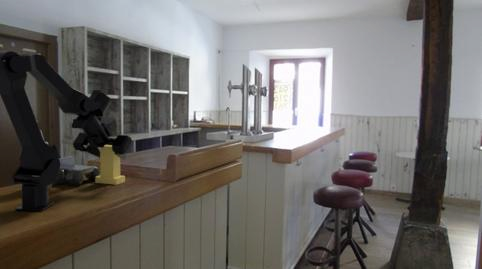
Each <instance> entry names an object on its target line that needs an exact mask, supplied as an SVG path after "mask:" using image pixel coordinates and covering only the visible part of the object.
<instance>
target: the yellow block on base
mask: <svg viewBox="0 0 482 269" xmlns="http://www.w3.org/2000/svg"><path fill="white" fill-rule="evenodd" d="M99 148H100V149H99V151H100V158H99V159H100V160H99V165H100V168H99V170H100V176H96V177H95V180H94V181H95V182H94V183H96V184H105V185H116V186H117V185H119V184H120V185H121V184H122V183H126V176H125V175H121V158H120V157H118V156H117V155H115V154H114V153H115V152H113V150H112V145H105V146H104V147H103V148H102V147H99Z"/></svg>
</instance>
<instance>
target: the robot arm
mask: <svg viewBox="0 0 482 269" xmlns="http://www.w3.org/2000/svg"><path fill="white" fill-rule="evenodd" d="M27 73H29V74H30V75H31V76H32V77H33V78H34V79H35V80H36V81H37V82H38V83H40V84H41V85H42V86H43V87H44V88H45V89H46V90H47V91H48V92H49V93H51V95H52V96H53V97H54V98H55V99H56V103H57V106H58V107H59V109H60V110H61V111H62V113H64V114H65V115H69V116H76V117H75V118H73V119H72V123H71V126H70V127H71V129H80V130H81V132H79V133H78V134H77V136H76V137H75V139H74V140H73V142H72V147H73V148H74V150H75V151H79V152H83V153H85V154H88V155H91V156H94V157H96V158H97V159H98V158H99V159H100V149H99V148H100V147H102V148H103V147H104V146H105V145H112V150H113V152H115V153H114V154H115V155H117V156H118V157H120V160H123V161H126V158H127V155H126V154H127V151H128V149H129V147H130V145H131V143H132V141H133V139H132V137H131V136H130V134H129V135H128V134H117V135H116V136H115V138H113V137H112V136H113V134H114V132H113V131H115V129H117V128H118V124H117V120H116V117H109V116H108V117H107V116H106V117H105V116H104V114H105V113H106V111H107V109H108V108H109V106H110V105H111V103H112V99H111V97H110V96H108V95H107V94H106V93H104V92H101V90H100V89H94V90H92V92H91V94H90V96H88V95H86V94H85V93H83V92H82V91H80V90H77V89H75V88H74V87H72V86H71V85H70V84H69V83H68V82H67V81H66V80H65V79H64V78H63V76H61V75H60V73H59V72H57V71H56V70H55V69H54V68H53V66H52V65H50V63H49V62H48V61H47V59H46V57H45V56H44V55H43V54H41V53H23V54H20V53H17V52H16V51H13V50H9V51H8V50H0V97H1V100H2V103H3V104H4V107H5V109H6V113H7V115H8V117H9V119H10V121H11V124H12V127H13V129H14V131H15V134H16V136H17V139H18V141H19V143H20V146H21V150H20V153H19V157H18V158H19V163H20V164H19V166H18V167H17V168H16V169H15V171H14V172H13V174H12V175H11V179H12V183H13V184H16V185H17V184H19V185H21V205H19V206H16V208H15V209H14V210H15V211H24V212H25V211H31V212H33V211H35V212H40V211H41V212H42V211H45V210H46V209H48V208H50V207H51V206H53V205H55V201H49V190H48V185H50V184H52V185H53V184H55V183H56V180H57V177H58V173H59V169H60V160H59V158H62V157H61V156H60V155H59V154H60V153H59V152H58V147H57V145H56V144H53V143H51V144H50V143H48V144H47V143H45V142H46V141H45V139H44V140H43V138H44V136H43V137H42V135H43V133H42V134H41V132H40V130H41V129H40V127H39V124H38V122H37V119H36V115H35V113H34V110H33V107H32V106H31V103H30V100H29V96H28V95H27V92H26V88H25V86H26V82H27V80H28V79H27V78H28V74H27ZM103 116H104V117H103ZM32 175H33V176H40V177H32Z"/></svg>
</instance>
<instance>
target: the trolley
mask: <svg viewBox="0 0 482 269" xmlns="http://www.w3.org/2000/svg"><path fill="white" fill-rule="evenodd" d="M75 158H76V156H75V155H71V156H64V157H61V158H59V160H60V169H59V173H58V177H57V180H56V183H54V184H55V185H62V184H65V183H66V182H67V184H69V185H70V186H71V187H76V186H79V185H81V184H83V182H84V178H86V180H88V181H91V182H92V181H93V182H94V181H95V177H96V176H100V168H99V167H98V166H96V165H82V164H78V163H77V164H75V162H76V160H75ZM84 176H85V177H84Z"/></svg>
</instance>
